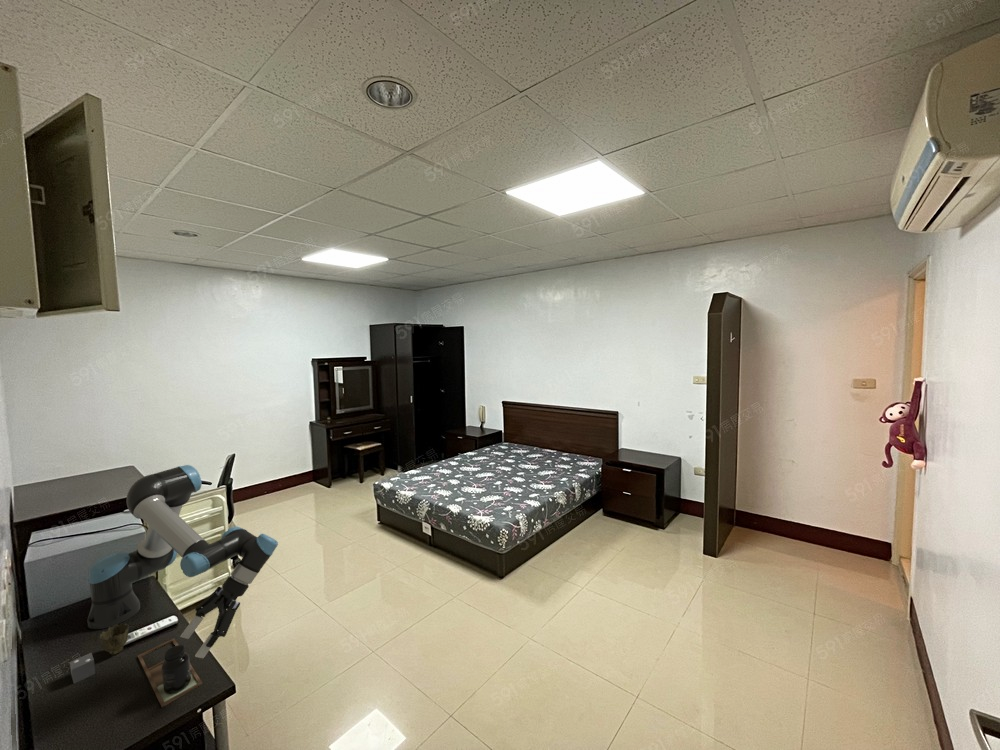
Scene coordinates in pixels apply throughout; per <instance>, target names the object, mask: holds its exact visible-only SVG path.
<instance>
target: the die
mask: <svg viewBox="0 0 1000 750" xmlns="http://www.w3.org/2000/svg"><path fill="white" fill-rule="evenodd" d="M95 665H96V664H95V659H94V657H93V653H92V652H90V653H87V654H85V655H83V656H80V657H78V658H76V659H73V660H71V661H69V666H70V668H69V669H70V674H71V679H72V682H73V684H77V683H79V682H81V681H83V680H86V679H87V678H89V677H91V676H93V675H95V674H96V667H95Z"/></svg>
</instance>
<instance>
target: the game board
mask: <svg viewBox="0 0 1000 750" xmlns="http://www.w3.org/2000/svg"><path fill="white" fill-rule="evenodd" d="M171 643H172V644H173V646H174V645H175V646H177V645H179V643H178V642H177V640H176V638H172V639H169V640H168V641H165V642H163V643H161V644H159V645H157V646H154V647H153V648H151V649H149V650H147V651H145V652H143V653H140V654H138V655H137V659H138V661H139V663H140V665H141V667H142V669H143V671H144V674H145V675H146V678H147V679H148V682H149V684H150V686H151V689H152V690H153V692H154V694H155V696H156V698H157V700H158V702H159V705H160V706H161V708H163V707H165V706H167V705H168V704H169V705H170V703H173V702H174V701H176V700H177V699H179V698H181V697H182V696H184V695H186V694H188V693H190V692H192V691H193V690H195V689H197V688H198V686H199V687H200V686H202V685H203V681H202V680H201V678H200V677H199V675H198V674H197V672H196V670H195V669H194V667H193V666H192V664H191V663H190V672H191V681H190V683H189V684H188V685H187V686H186V687H185V688H184V689H183V690H181V691H179V692H177V693H174V694H167V693H165V692H164V687H163V677H162V664H163V662H164V661H165V659H164V660H162V661H160V662H159V663H156V664H155V665H152V666H150V667H147V664H146V663H145V661H144V658H143V657H144V656H146V655H148V654H150V653H152V651H153V652H154V650H155V649H157V650H158V648H159V649H161V648H163V647H165V646H167V645H169V644H171ZM164 645H165V646H164ZM162 646H163V647H162ZM160 647H161V648H160ZM155 651H156V650H155Z"/></svg>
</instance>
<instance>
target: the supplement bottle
mask: <svg viewBox="0 0 1000 750" xmlns="http://www.w3.org/2000/svg"><path fill="white" fill-rule="evenodd" d="M164 660H165V661H164ZM164 660H163V661H164V662H163V664H162V677H163V687H164V692H165V693H167V694H174V693H177V692H179V691H181V690H183V689H184V688H185V687H186V686H187V685H188V684H189V683H190V681H191V672H190V664H191V662H190V655H189V653H187V652H186V650H185V646H184V644H183V645H182V644H178V645H177V646H174V645H173V646H172V647H170V648H168V649H167V650H166V652H164Z"/></svg>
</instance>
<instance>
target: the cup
mask: <svg viewBox="0 0 1000 750" xmlns="http://www.w3.org/2000/svg"><path fill="white" fill-rule="evenodd" d="M129 626H130V625H129V624H128V623H124V624H122V623H119V624H117V625H114V626H111V627H108V628H107V631H102V632H101V633H100V634H99V640H100V644H101V646H102V649H103V650H104V651H105V652H108V654H109V655H117V654H119V653H121V652H122V651H123V650H124V646H125V645H126V643H127V641H128V638H129V628H130V627H129Z"/></svg>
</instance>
